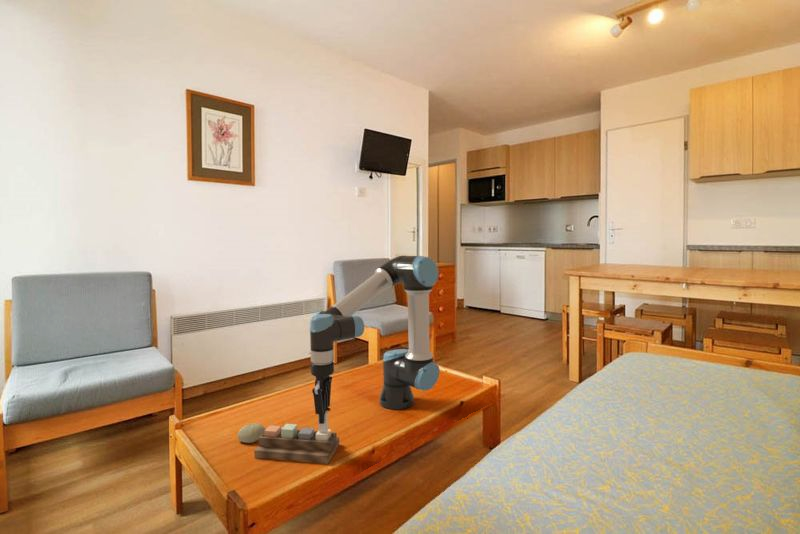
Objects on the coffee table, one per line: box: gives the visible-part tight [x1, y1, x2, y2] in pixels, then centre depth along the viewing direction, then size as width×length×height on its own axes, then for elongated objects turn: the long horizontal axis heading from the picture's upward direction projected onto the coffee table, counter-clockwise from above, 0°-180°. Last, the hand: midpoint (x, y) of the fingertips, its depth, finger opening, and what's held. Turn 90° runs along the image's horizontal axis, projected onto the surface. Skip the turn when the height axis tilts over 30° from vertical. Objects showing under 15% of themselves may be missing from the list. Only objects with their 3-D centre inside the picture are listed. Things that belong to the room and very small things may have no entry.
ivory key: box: [316, 428, 332, 441], centre depth 131 cm, size 4×4×4 cm
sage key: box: [281, 423, 298, 439], centre depth 133 cm, size 4×4×4 cm
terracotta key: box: [264, 424, 282, 438], centre depth 134 cm, size 4×4×4 cm
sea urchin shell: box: [237, 422, 266, 444], centre depth 141 cm, size 9×8×8 cm
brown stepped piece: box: [253, 429, 340, 465], centre depth 132 cm, size 25×12×6 cm, turn 82°
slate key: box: [298, 427, 315, 440], centre depth 132 cm, size 4×4×4 cm
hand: (323, 431), depth 131 cm, fingers closed
